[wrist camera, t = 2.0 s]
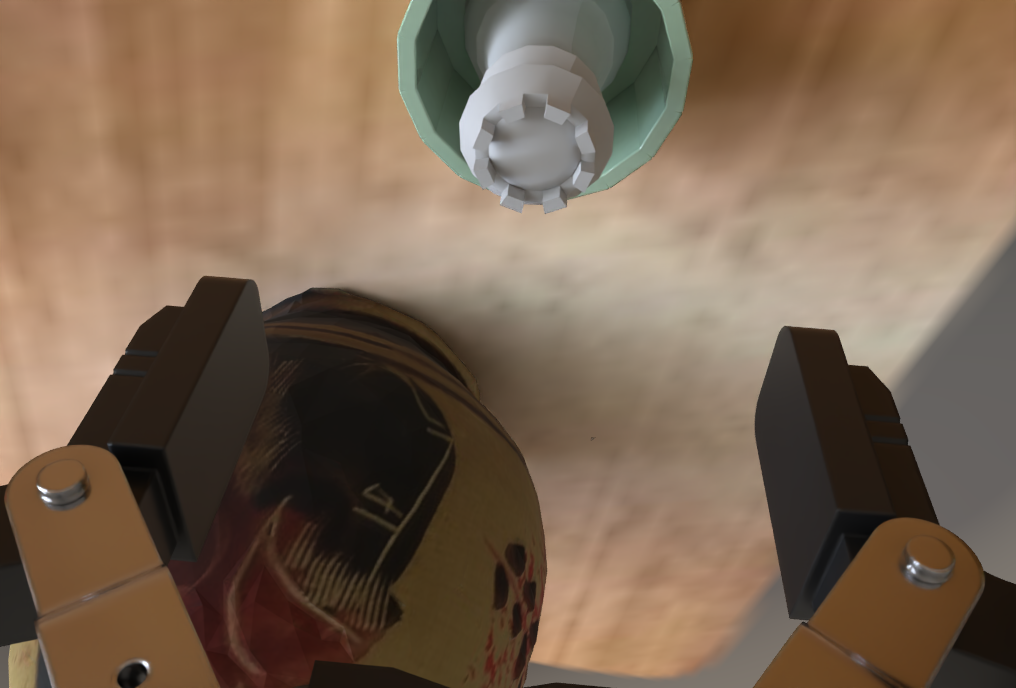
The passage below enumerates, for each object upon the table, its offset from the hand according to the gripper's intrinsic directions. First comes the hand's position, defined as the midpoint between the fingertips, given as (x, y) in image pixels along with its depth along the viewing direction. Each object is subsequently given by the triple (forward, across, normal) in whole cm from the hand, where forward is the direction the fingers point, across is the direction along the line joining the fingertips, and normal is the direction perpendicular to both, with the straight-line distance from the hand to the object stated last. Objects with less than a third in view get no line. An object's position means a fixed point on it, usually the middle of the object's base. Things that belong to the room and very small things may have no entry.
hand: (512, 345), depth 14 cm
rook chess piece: (+14, 0, 0) cm, 14 cm away
